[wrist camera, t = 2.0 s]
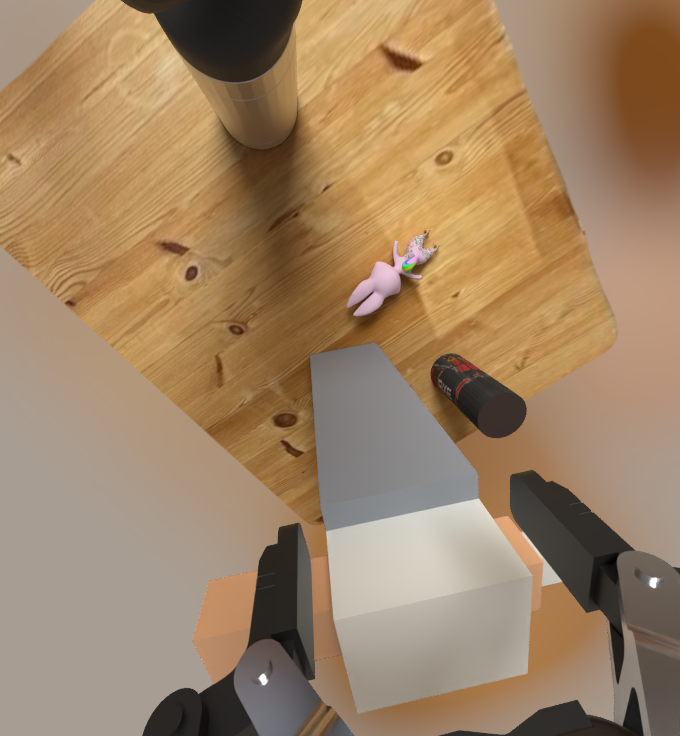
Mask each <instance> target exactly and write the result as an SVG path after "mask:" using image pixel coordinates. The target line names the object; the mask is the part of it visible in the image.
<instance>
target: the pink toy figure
mask: <svg viewBox="0 0 680 736" xmlns="http://www.w3.org/2000/svg"><path fill="white" fill-rule="evenodd" d="M424 230H425V231H424V232H425V234H423V235H419V236H416V237H414V238H413V239H412V240H411V241H410V242H409V244H408V246H407V250H406V253H405V255H404V256H403V257H399V256H398V253H397V246H398V241H395V242H394V246H393V258H394V262H395V266H394V267H391V266H390V265H388V264H386V263H384V262H376V264H375V266H374V268H373V271H372V273H371V276H370V278H369V279H367V280H364V281H362V282H361V283H360V284H359V285H358V286H357V288H356V289H355V290H354V292H353V293H352V295H351V297H350V299H349V301H348V303H347V308H349V307H351V306H353V305H355V304H357V303H359V302H360V301H362V300H363V299H364V298H365V297H367V296H368V295H369V294H370V293H371V292H373V294H372V295H371V296H370V297H369V298H368V299H367V300H365V301H364V302H363V303H362V304H361V305H360V307H359V308H358V309H357V310H356V311H355V313H354V314H353V315H354V316H363V315H367V314H370V313H372V312H374V311H375V310H377V309H378V308H379V307H380V306H381V305H382V303H383V301H384V299H385V298H386V297H388V296H390V295H394V294H397V293H399V292H400V288H401V280H400V276H399V274H403V275H405V276H407V277H409V278H412V279H422V276H421V275H413V274H412V273H410V272H411V271H412V269H413V268H414V266H415V265H420V264H423V263H425V262H426V261H427V260H428V259H429V258H430V257H431V256H432V255H433V253H434V252H435V251H436V250H437V249H438V248H439V246H441V245H438V244H435V243H434V245H435V249H429V248H423V247H422V246H423V243H424V239H425V236H426V235H427V234H428V233H429V232H430V231H431V230H432V229H431V230H430V229H424Z"/></svg>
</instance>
